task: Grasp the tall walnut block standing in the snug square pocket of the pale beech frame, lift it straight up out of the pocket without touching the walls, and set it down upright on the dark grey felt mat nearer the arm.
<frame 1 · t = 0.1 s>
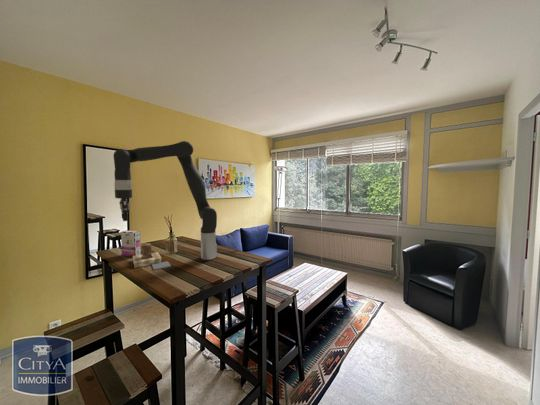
hand: (124, 219, 117), 29 cm above the table, fingers open, 8 cm apart
pocket frame: (147, 261, 137), on the table
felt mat: (161, 266, 130), on the table
walnut block: (146, 253, 136), in the pocket frame
candy bar box: (131, 255, 148), on the table
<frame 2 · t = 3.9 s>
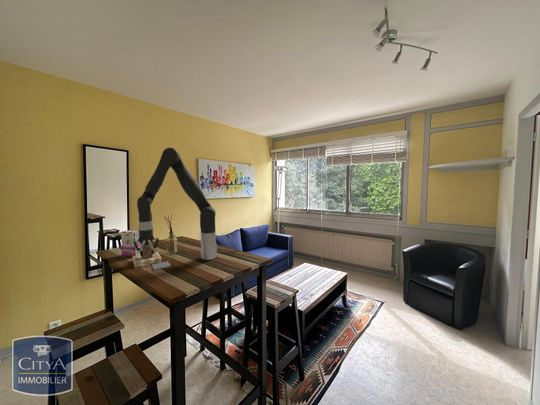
hand: (146, 255, 136), 4 cm above the table, fingers closed on walnut block, 4 cm apart
walnut block: (146, 253, 136), in the pocket frame, touching gripper
everything else where it was.
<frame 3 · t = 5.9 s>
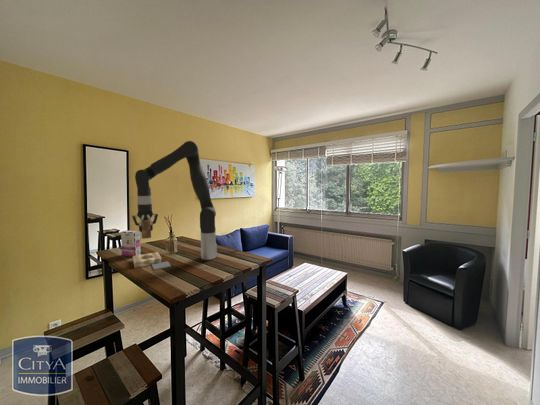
hand: (146, 231, 135), 19 cm above the table, fingers closed on walnut block, 4 cm apart
walnut block: (145, 228, 135), point 21 cm above the table, touching gripper
everything else where it was.
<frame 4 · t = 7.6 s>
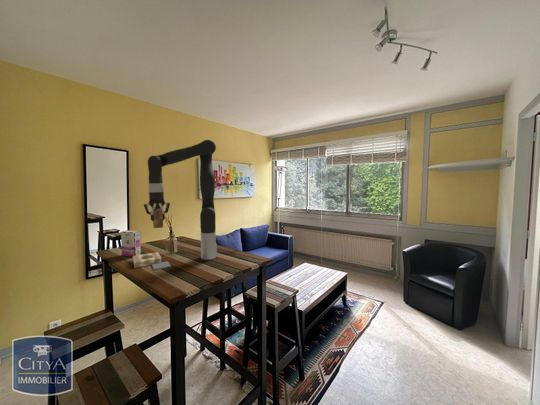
hand: (157, 220, 129), 27 cm above the table, fingers closed on walnut block, 4 cm apart
walnut block: (157, 217, 129), point 28 cm above the table, touching gripper
everything else where it was.
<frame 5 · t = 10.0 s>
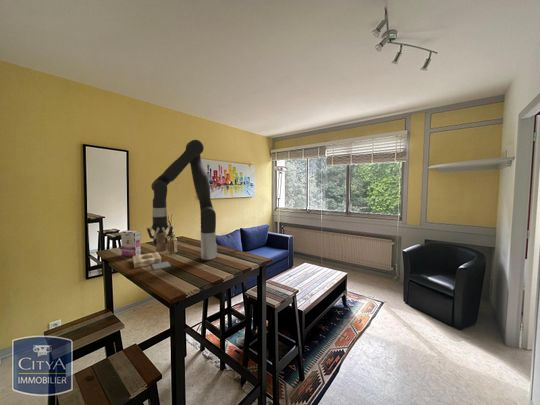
hand: (160, 244, 129), 13 cm above the table, fingers closed on walnut block, 4 cm apart
walnut block: (160, 241, 129), point 15 cm above the table, touching gripper
everything else where it was.
when the fingers open (5 cm above the table, at t = 11.7 s): walnut block stays where it is, resting on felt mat.
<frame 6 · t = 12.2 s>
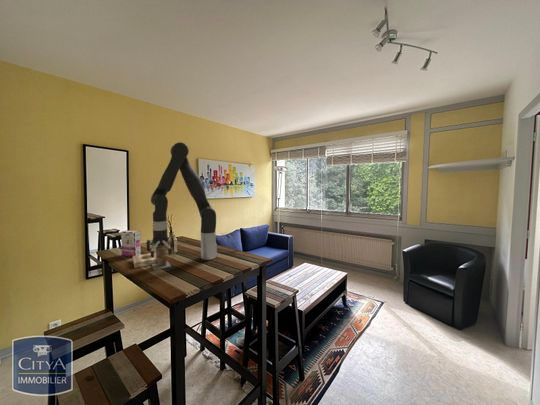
hand: (161, 255, 130), 6 cm above the table, fingers open, 8 cm apart
walnut block: (161, 255, 130), on the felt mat, point 6 cm above the table
everything else where it was.
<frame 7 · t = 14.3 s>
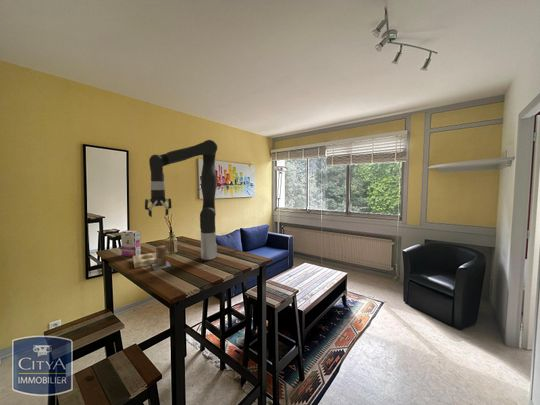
hand: (158, 216, 134), 29 cm above the table, fingers open, 8 cm apart
nothing on the table moved.
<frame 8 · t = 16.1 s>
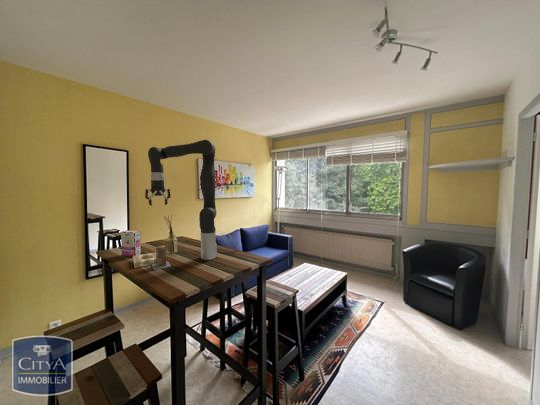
hand: (158, 205, 142), 34 cm above the table, fingers open, 8 cm apart
nothing on the table moved.
at the end: walnut block inside the target area on the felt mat (0.1 cm from its centre), point 6.1 cm above the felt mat's base; walnut block tilted 0°; the gripper is holding nothing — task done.
